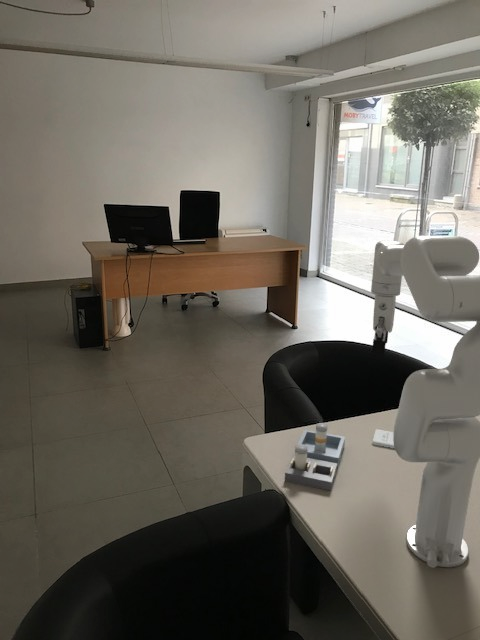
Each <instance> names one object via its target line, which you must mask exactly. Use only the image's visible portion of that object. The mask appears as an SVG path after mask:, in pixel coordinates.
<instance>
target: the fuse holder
mask: <svg viewBox="0 0 480 640" xmlns="http://www.w3.org/2000/svg"><path fill="white" fill-rule="evenodd" d="M337 471H338V468H337V463H332V462H327V461H322V460H317V459H312V458H307V461H306V471H302V470H297V469H295V454H293V455H292V457H291V459H290V462H289V463H288V465H287V468H286V470H285V472H284V481H285V482H286V483H287V482H288V483H291V484H295V485H296V484H297V485H301V486H305V487H311V488H317V489H319V490H320V489H322V490H326V491H330V492H331V491H332V490H333V489H332V487H333V486H334V482H335V479H336V476H337Z"/></svg>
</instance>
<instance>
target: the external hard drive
mask: <svg viewBox="0 0 480 640" xmlns="http://www.w3.org/2000/svg"><path fill="white" fill-rule="evenodd" d="M393 433H394V431H389V430H382V429H377V428H375V431H374V435H373V439H372V442H371V444H372V445H373V446H378V447H383V446H384V447H385V448H388V447H390V448H389V449H393V448H394V450H395V447H394V442H393ZM384 447H383V448H384Z"/></svg>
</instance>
